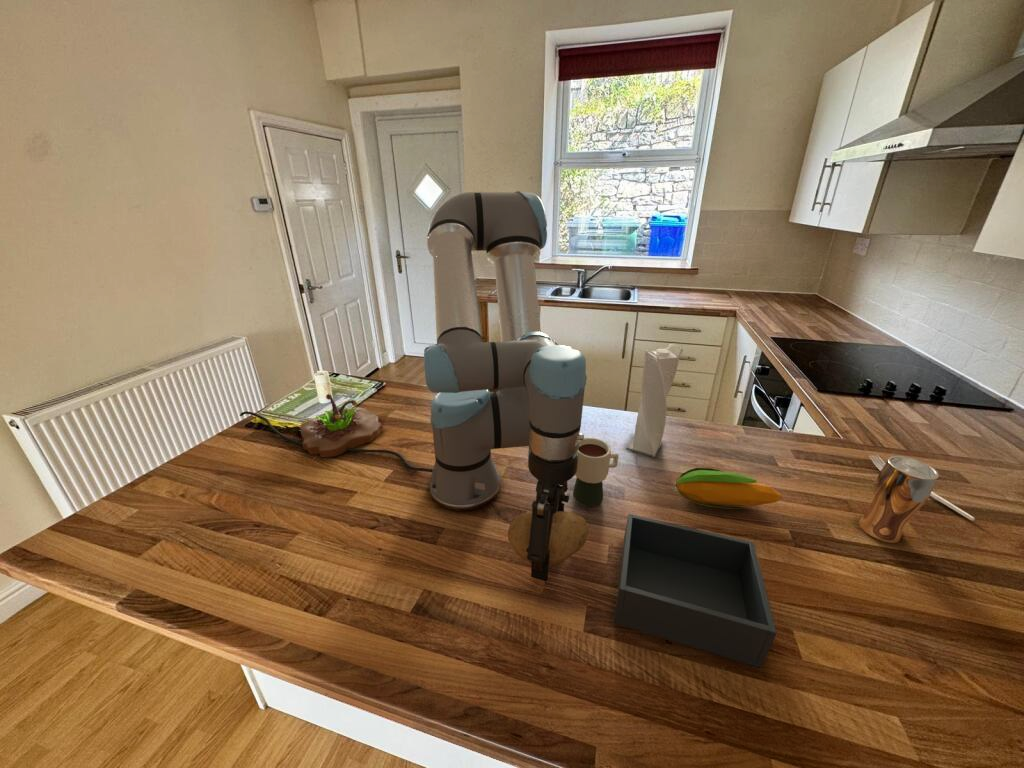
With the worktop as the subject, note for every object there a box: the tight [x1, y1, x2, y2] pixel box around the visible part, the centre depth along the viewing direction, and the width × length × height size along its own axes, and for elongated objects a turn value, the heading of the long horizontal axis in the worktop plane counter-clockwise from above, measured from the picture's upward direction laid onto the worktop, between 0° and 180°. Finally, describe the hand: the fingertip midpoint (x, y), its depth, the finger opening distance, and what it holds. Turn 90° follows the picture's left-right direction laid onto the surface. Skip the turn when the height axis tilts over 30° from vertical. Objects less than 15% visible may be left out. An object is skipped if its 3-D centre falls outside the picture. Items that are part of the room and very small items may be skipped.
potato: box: [507, 510, 591, 566], centre depth 69 cm, size 10×14×8 cm
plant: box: [299, 393, 384, 458], centre depth 105 cm, size 20×20×11 cm
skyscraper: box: [625, 343, 684, 459], centre depth 95 cm, size 8×8×28 cm
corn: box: [675, 467, 783, 510], centre depth 82 cm, size 7×8×20 cm
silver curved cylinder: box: [858, 455, 940, 544], centre depth 73 cm, size 7×7×15 cm
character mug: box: [572, 437, 619, 508], centre depth 82 cm, size 11×7×13 cm, turn 94°
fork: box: [869, 453, 976, 522], centre depth 86 cm, size 3×20×2 cm, turn 12°
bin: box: [613, 513, 777, 669], centre depth 62 cm, size 20×16×8 cm
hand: (547, 552), depth 70 cm, fingers closed on potato, 10 cm apart
